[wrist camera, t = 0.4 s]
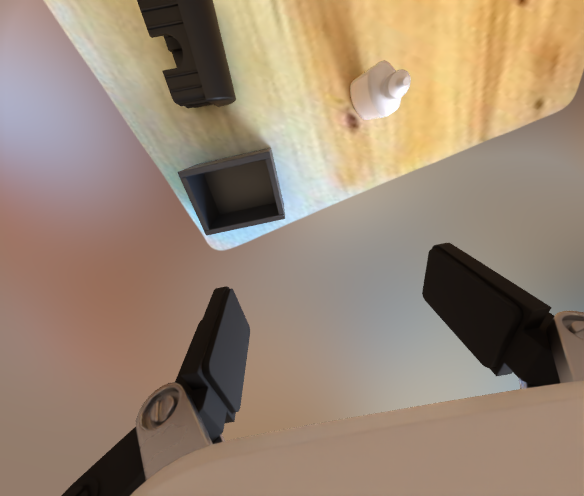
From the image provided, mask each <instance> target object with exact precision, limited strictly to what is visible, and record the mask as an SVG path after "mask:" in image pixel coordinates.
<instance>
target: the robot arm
mask: <svg viewBox="0 0 584 496" xmlns="http://www.w3.org/2000/svg"><path fill="white" fill-rule="evenodd" d="M422 294H423V297H424V299H425V301H426V302H427V303H428V304H429V305H430V306H431V307H432V308H433V310H434V311H435V312H436V313H437V314H438V315H439V316H440V318H441V319H442V320H443V321H444V322H445V323H446V324H447V325H448V327H449V328H450V329H451V330H452V331H453V332H454V333H455V334H456V336H457V337H458V338H459V339H460V340H461V341H462V342H463V343H464V345H465V346H466V347H467V348H468V349H469V350H470V351H471V352H472V353H473V355H474V356H475V357H476V358H477V359H478V360H479V361H480V363H481V364H482V365H484V366H485V367H487V368H490V369H491V370H492V372H493V373H494V374H495V375H496V376H501V375H507V374H511V373H512V372H514V373H515V374H516V375H517V377H518V378H519V383H520V389H519V390H513V391H506V392H500V393H495V394H488V395H482V396H476V397H470V398H464V399H458V400H452V401H446V402H440V403H434V404H428V405H422V406H416V407H410V408H404V409H399V410H392V411H387V412H381V413H375V414H369V415H363V416H358V417H351V418H346V419H340V420H334V421H329V422H323V423H317V424H312V425H306V426H300V427H294V428H289V429H283V430H278V431H273V432H268V433H263V434H257V435H253V436H247V437H242V438H237V439H233V440H229V441H225V440H224V438H223V436H222V434H221V433H222V432H223V429H224V423H229V422H234V420H235V413H236V412H238V411H239V409H240V405H241V397H242V389H243V382H244V374H245V366H246V359H247V352H248V344H249V336H250V327H249V324H248V322H247V320H246V318H245V315H244V313H243V311H242V309H241V306H240V304H239V302H238V299H237V297H236V295H235V293H234V291H233V289H229V287H221V288H216V289H215V290H214V292H213V294H212V297H211V299H210V302H209V304H208V307H207V309H206V312H205V315H204V317H203V319H202V320H201V321H200V323H199V324H198V327H197V330H196V332H195V334H194V337H193V339H192V342H191V344H190V347H189V349H188V351H187V354H186V356H185V359H184V361H183V364H182V366H181V369H180V371H179V374H178V376H177V379H176V381H175V382H174V383H168V384H166V385H163V386H162V387H160V388H159V389H157V390H156V391H155V392H154V393H152V394H151V395H150V396H149V397H148V399H147V400H146V401H145V402H144V404H143V405H142V407H141V409H140V411H139V413H138V416H137V419H136V427H135V428H134V429H133V430H131V431H130V432H129V433H128V434H127V435H126V436H125V437H124V438H123V439H122V440H120V441H119V442H118V443H117V444H116V445H115V446H114V447H113V448H112V449H111V450H110V451H108V452H107V453H106V454H105V455H104V456H103V457H102V458H101V459H100V460H99V461H97V462H96V463H95V464H94V465H93V466H92V467H91V468H90V469H89V470H88V471H87V472H85V473H84V474H83V475H82V476H81V477H80V478H79V479H78V480H77V481H76V482H74V483H73V484H72V485H71V486H70V487H69V488H68V490H66V492H65V493H64V494H63V495H62V496H584V313H583V312H577V311H563V312H559V313H557V314H556V315H555V316H554V315H552V314H551V313H549V311H550V309H551V307H550V306H548V305H547V304H545V303H543V302H542V301H540V300H539V299H537V298H536V297H534V296H533V295H531V294H529V293H528V292H526V291H525V290H523V289H522V288H520V287H518V286H517V285H515V284H514V283H512V282H511V281H509V280H507V279H506V278H504V277H503V276H501V275H500V274H498V273H496V272H495V271H493V270H492V269H490V268H488V267H487V266H485V265H483V264H482V263H481V262H479V261H477V260H476V259H474V258H473V257H471V256H470V255H468V254H466V253H465V252H463V251H462V250H460V249H458V248H457V247H455V246H454V245H452V244H450V243H444V244H439V245H434V246H433V248H432V249H431V250H430V251H429V255H428V261H427V267H426V273H425V279H424V286H423V293H422Z"/></svg>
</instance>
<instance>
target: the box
mask: <svg viewBox="0 0 584 496" xmlns="http://www.w3.org/2000/svg"><path fill="white" fill-rule="evenodd" d="M178 174H179V177H180V178H181V181H182V183H183V185H184V188H185V190H186V192H187V194H188V196H189V199H190V201H191V203H192V205H193V207H194V210H195V212H196V214H197V216H198V218H199V221H200V223H201V225H202V227H203V229H204V232H205V234H206V235H211V234H215V233H220V232H225V231H230V230H234V229H239V228H244V227H248V226H253V225H258V224H262V223H267V222H272V221H276V220H281V219H285V213H284V203H283V199H282V195H281V190H280V186H279V181H278V177H277V172H276V168H275V164H274V159H273V155H272V150H271V148H267V149H263V150H258V151H254V152H250V153H245V154H241V155H236V156H232V157H228V158H223V159H219V160H215V161H210V162H206V163H201V164H197V165H194V166H192V167H189V168H187V169H184V170H182V171H179V172H178Z"/></svg>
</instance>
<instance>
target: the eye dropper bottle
mask: <svg viewBox="0 0 584 496" xmlns="http://www.w3.org/2000/svg"><path fill="white" fill-rule="evenodd" d="M410 82H411V80H410V75H409V73H408V72H407V71H406V70H403V69H402V70H398V71H396V70H395V69H394V68H393V66H392V65H391V64H390V63H389V62H387V61H385V60H383V61H380V62H379V63H377V64H376V65H374V66H373V67H371V68H370V69H368V70H367V71H366V72H364V73H363V74H361V75H360V76H358V77H357V78H356V79H354V80H353V81H352V82H351V85H350V94H351V100H352V104H353V106H354V108H355V110H356V112H357V113H358V115H359V116H360V117H361V118H362V119H364V120H369V119H376V118H382V117H386V116H388V115H390V114H391V113H393V112H394V111H396V110H397V109H398V108H399V106H400V102H401V97H402V96H403V95H404V94H405V93H406V92H407V91H408V89H409V86H410Z"/></svg>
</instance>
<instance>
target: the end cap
mask: <svg viewBox="0 0 584 496" xmlns="http://www.w3.org/2000/svg"><path fill="white" fill-rule="evenodd" d="M137 2H138V5H139V7H140V10H141V13H142V16H143V18H144V21H145V24H146V27H147V30H148V32H149V35H150V36H151V37H152V38H153V37H158V36H164V38H165V41H166V44H167V47H168V50H169V51H170V52H171V51H172V54H173V57H174V60H175V63H176V66H177V68H175V69H169V70H164V71H163V74H164V77H165V79H166V82H167V85H168V88H169V90H170V93H171V96H172V99H173V101H174V102H175V103H176V104H178V105H180V106H185V107H187V108H192V107H194V108H197V107H202V106H208V105H216V106H218V107H220V106H224V105H228V104H231V103H233V102H235V100H236V97H235V93H234V89H233V84H232V80H231V76H230V72H229V67H228V63H227V59H226V55H225V51H224V46H223V42H222V38H221V34H220V29H219V25H218V21H217V17H216V12H215V8H214V4H213V0H137Z"/></svg>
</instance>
